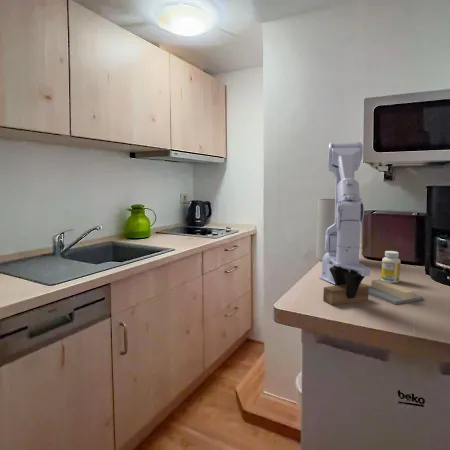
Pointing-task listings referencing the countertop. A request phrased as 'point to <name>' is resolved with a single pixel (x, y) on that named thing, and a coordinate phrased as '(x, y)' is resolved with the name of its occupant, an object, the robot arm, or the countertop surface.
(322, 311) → the countertop surface
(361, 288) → the walnut bar
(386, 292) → the board
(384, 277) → the supplement bottle
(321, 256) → the cylinder vase
